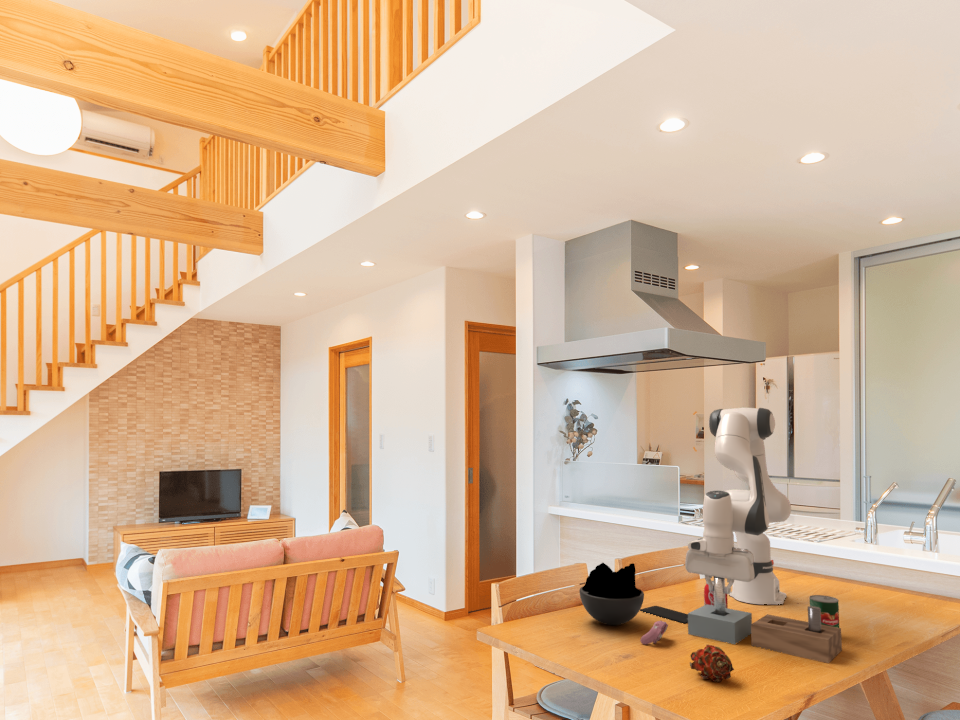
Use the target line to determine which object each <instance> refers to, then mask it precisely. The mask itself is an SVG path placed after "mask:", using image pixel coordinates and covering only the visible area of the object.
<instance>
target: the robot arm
mask: <svg viewBox="0 0 960 720" xmlns="http://www.w3.org/2000/svg"><path fill="white" fill-rule="evenodd" d="M708 418H709V419H708V428H709V431H710V433H711V434H712V436H714V438H715V440H714V442H715V443H714V456H715V458H716V460H717V462H718V463H720V465H722V466H724V467H725V468H727V469H729V470H730V471H734V475H735V476H736V477H737V478H738V479H739V480H741V481H742V482H744V483H745V484H747V485H748V486H749V489H736V488H735V489H726V490H710V491H708V492H706V493H704V498H703V505H702V521H703V522H702V523H703V526H704V529H703V532H702V533H703V534H702V537H701V538H698V539H694V540H692V541H689V542H688V543H687V548H688V550H687V551H686V554H685V570H686V571H687V572H688V573H690V574H691V573H692V574H697V575H703V576H704V579H705V583H706V582H707V583H708V585H709V591H714V584H713V583H712V581H713V580H712V578H714V577H720V578H725V580H726V582H727V583H728V584H727V585H726V586H725V587H724V593H726V594H727V595H728V596H729V595H730V597H732V598H734V600H737V601H739V602H742V603H747V604H751V605H753V604H754V605H764V604H767V605H778V604H779V606H781V605H780V604H782V605H783V604H784V602H785V601H786V599H787V593H786V592H784V591H783V592H782V591H781V589H780V588H781V587H780V579H778V577H777V576H776V574H775V573H774V565H775V562H774V560H773V559H772V558H771V541H770V538H769V537H768V536H767V535H766V534H765V533H764V532H766V531H767V530H768V529H769V526H770V523H771V524H772V523H782V522H783V523H784V522H785V521H787V520H788V518H790V516H791V512H792V504H791V502H790V500H789V498H788V496H786V495H785V494H783V493H782V492H781V491H780V490H779V489H778V488H776V486H775V485H774V484H773V481H772V480H771V478H770V476H769V473H768V467H767V460H766V448H765V442H764V440H766V438H767V439H768V438H770V437H771V436H772V435H773V434H774V431H775V426H776V420H775V417H774V415H773V412H772V411H771V410H770V409H768V408H763V407H759V408H756V407H735V408H734V407H733V408H725V409H724V408H719V409H714V410H713V411H712V412H711V413H710V414H709V417H708ZM734 534H735V537H734ZM735 538H736V545H737V547H735V542H734V541H735ZM731 589H732V591H731ZM785 598H786V599H785ZM784 600H785V601H784Z"/></svg>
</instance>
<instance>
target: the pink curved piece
mask: <svg viewBox="0 0 960 720" xmlns="http://www.w3.org/2000/svg"><path fill="white" fill-rule="evenodd" d="M668 626H669V624H668V623H667V622H666V621H663V620H657V621H655V622H654V623H653V626H652V627H651V628H650V629H649V631H648V632H646V633H645V634H643V635H641V638H640V643H641V644H642V645H650V644H651V643H653V644H657V643H658V641H660V640H662V639H663V635H664V634H665V633H666V631H667V629H668Z"/></svg>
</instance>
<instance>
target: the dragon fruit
mask: <svg viewBox="0 0 960 720" xmlns="http://www.w3.org/2000/svg"><path fill="white" fill-rule="evenodd" d="M690 659H691V661H692V662H691V661H690V662H689V666H690V669H691V670H695V671H697V672H700V677H701V678H702V679H703V680H709V679H710V680H712V681H713V682H717V683H718V682H720V683H721V681H722V680H723V679H724V680H728V679H730V678H731V673H732V672H733V671H734V670H735V668H734V667H733V663H732V661H731V659H730V657H729V656H728V655H727V654H726V652H725V651H724V650H723V649H722V648H721V647H720V646H715V645H711V644H706V645H705V647H704V648H699V649H697V650H696V651H692V652H691V654H690Z"/></svg>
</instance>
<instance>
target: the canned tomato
mask: <svg viewBox="0 0 960 720" xmlns="http://www.w3.org/2000/svg"><path fill="white" fill-rule="evenodd" d="M808 598H809V606H814V607H819V608H820V609H821V625H827V626H832V627H837V628H840V609H839V608H840V606H839V602H840V601H839V599H838V598H836V597H834V596H830V595H822V594H815V595H814V594H813V595H809V597H808Z"/></svg>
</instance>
